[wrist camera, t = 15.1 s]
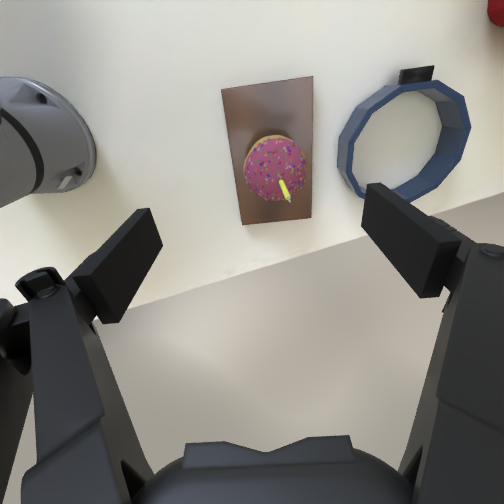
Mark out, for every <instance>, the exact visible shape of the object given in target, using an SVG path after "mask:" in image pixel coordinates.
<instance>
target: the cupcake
mask: <svg viewBox="0 0 504 504" xmlns="http://www.w3.org/2000/svg"><path fill="white" fill-rule="evenodd" d="M305 171H306V161H305V156H304V154H303V152H302V150H301V149H300V147H299V146H298V145H297V144H296V143H295V141H293V140H291V139H289V138H286V137H284V136H281V135H272V136H266V137H263V138H261V139H260V140H258V141H257V142H256V143H255V144H254V145H253V147H252V148H251V150H250V151H249V153H248V155H247V157H246V159H245V161H244V166H243V173H244V176H245V179H246V183H247V184H248V186H249V188H250V190H251V191H252V192H253V193H254V194H256V195H258V196H260V197H262V198H264V199H265V200H271V201H277V200H284V199H286V200H288V201H289V202H290V203H291V201H290V198H291V196H293V194H295V193H296V192H297V191H298V190H299V189H301V188H302V187H301V186H303V183H304V181H305Z"/></svg>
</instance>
